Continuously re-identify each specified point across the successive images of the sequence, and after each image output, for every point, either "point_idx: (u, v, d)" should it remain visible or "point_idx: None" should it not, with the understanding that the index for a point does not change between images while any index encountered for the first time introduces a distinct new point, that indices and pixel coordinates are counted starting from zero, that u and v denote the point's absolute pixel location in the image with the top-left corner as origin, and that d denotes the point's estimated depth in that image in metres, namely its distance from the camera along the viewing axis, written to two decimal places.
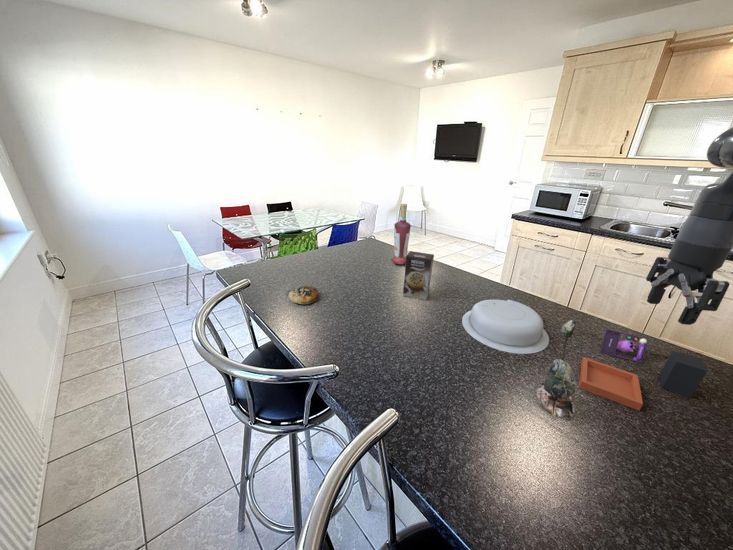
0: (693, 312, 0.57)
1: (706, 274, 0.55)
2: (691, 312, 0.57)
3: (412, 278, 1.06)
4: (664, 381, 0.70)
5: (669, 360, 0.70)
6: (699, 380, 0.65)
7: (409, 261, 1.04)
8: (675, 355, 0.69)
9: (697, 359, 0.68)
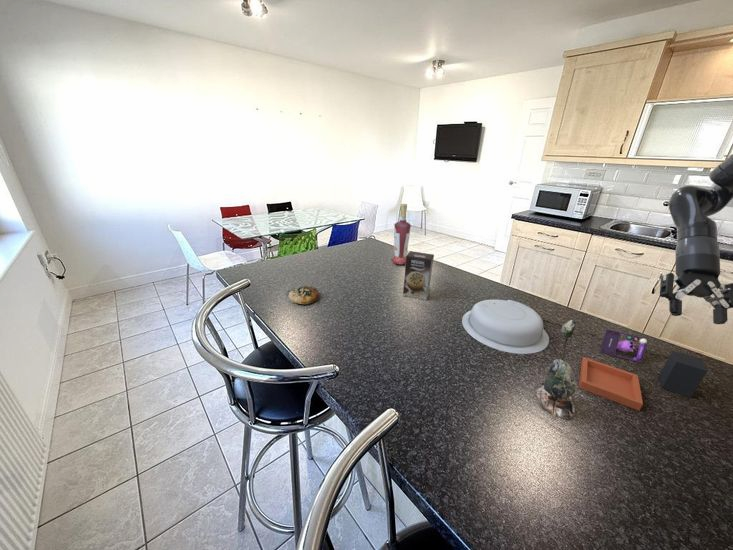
0: (670, 302, 0.74)
1: (678, 275, 0.75)
2: None
3: (412, 278, 1.06)
4: (664, 381, 0.70)
5: (669, 360, 0.70)
6: (699, 380, 0.65)
7: (409, 261, 1.04)
8: (675, 355, 0.69)
9: (697, 359, 0.68)
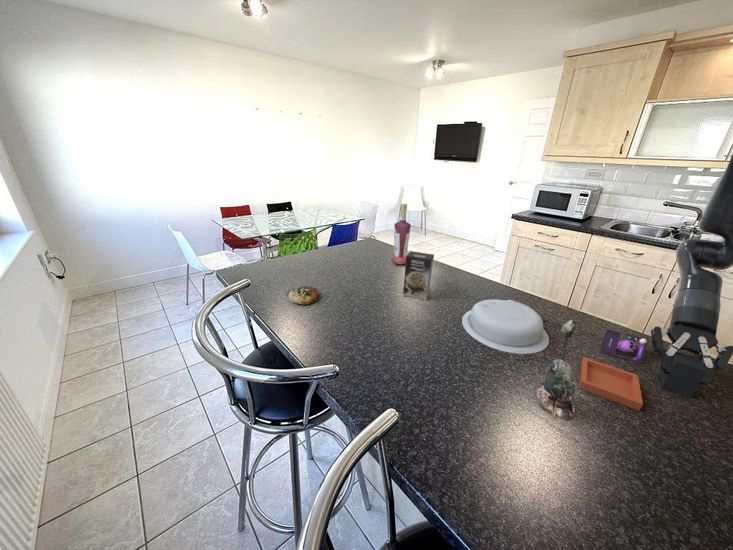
0: (662, 358, 0.71)
1: (669, 327, 0.72)
2: None
3: (412, 278, 1.06)
4: (664, 381, 0.70)
5: None
6: (699, 380, 0.65)
7: (409, 261, 1.04)
8: (675, 355, 0.69)
9: (697, 359, 0.68)
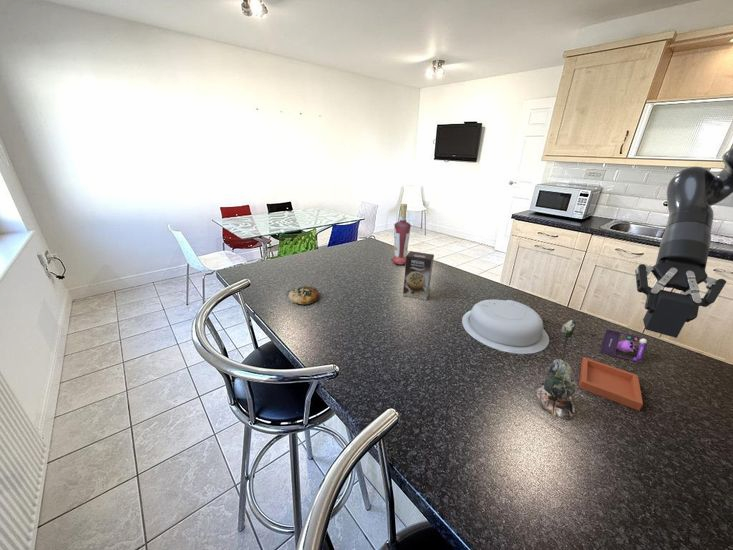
0: (647, 298, 0.64)
1: None
2: None
3: (412, 278, 1.06)
4: (648, 321, 0.63)
5: None
6: (686, 316, 0.59)
7: (409, 261, 1.04)
8: (660, 292, 0.62)
9: (684, 295, 0.61)
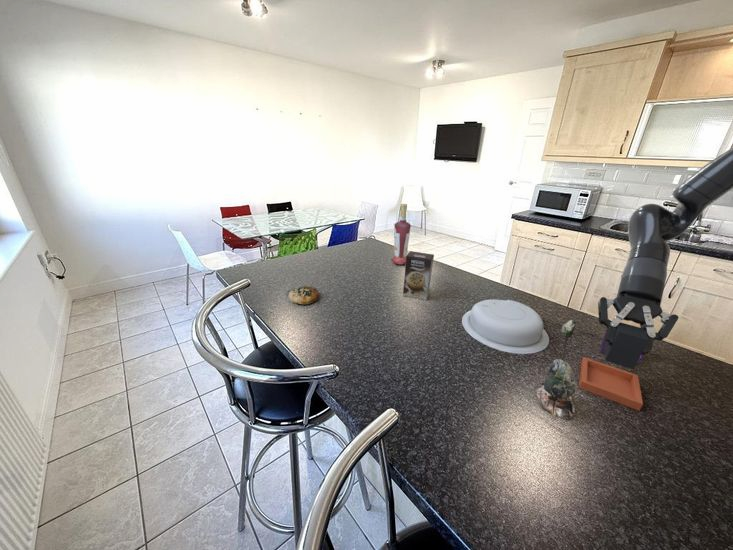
0: (607, 330, 0.68)
1: (616, 298, 0.69)
2: None
3: (412, 278, 1.06)
4: (608, 353, 0.67)
5: None
6: (641, 350, 0.62)
7: (409, 261, 1.04)
8: (619, 325, 0.66)
9: (641, 329, 0.65)
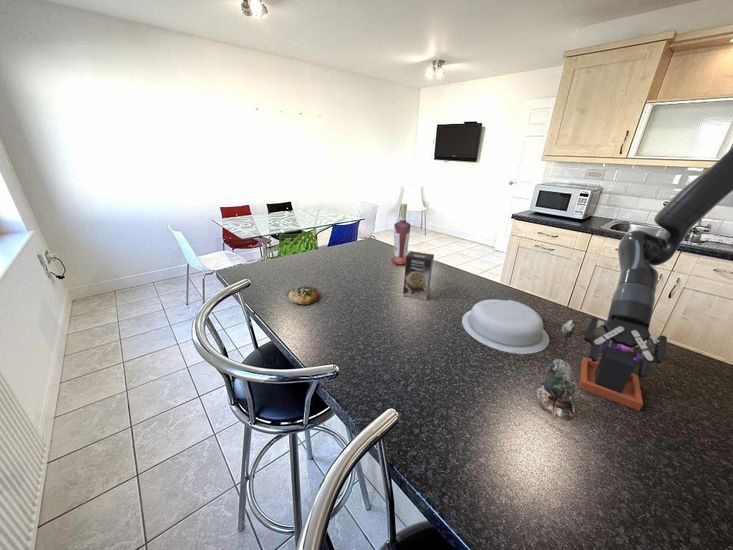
0: (591, 347, 0.71)
1: None
2: None
3: (412, 278, 1.06)
4: (597, 377, 0.70)
5: (603, 356, 0.70)
6: (628, 376, 0.65)
7: (409, 261, 1.04)
8: (607, 351, 0.69)
9: (628, 355, 0.68)
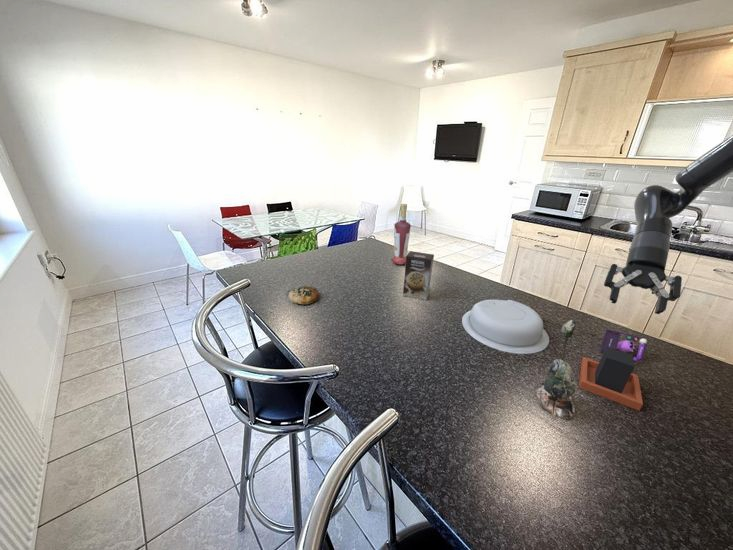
0: (611, 291, 0.78)
1: None
2: None
3: (412, 278, 1.06)
4: (597, 377, 0.70)
5: (603, 356, 0.70)
6: (628, 376, 0.65)
7: (409, 261, 1.04)
8: (607, 351, 0.69)
9: (628, 355, 0.68)
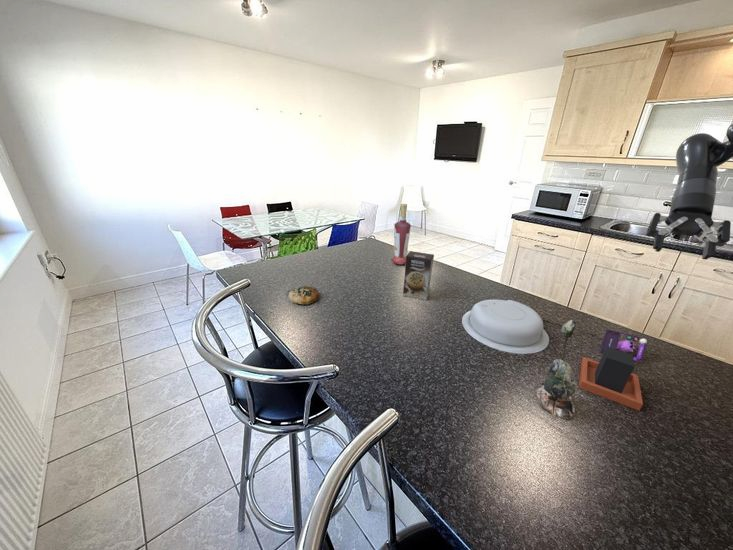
0: (654, 240, 0.76)
1: None
2: None
3: (412, 278, 1.06)
4: (597, 377, 0.70)
5: (603, 356, 0.70)
6: (628, 376, 0.65)
7: (409, 261, 1.04)
8: (607, 351, 0.69)
9: (628, 355, 0.68)
